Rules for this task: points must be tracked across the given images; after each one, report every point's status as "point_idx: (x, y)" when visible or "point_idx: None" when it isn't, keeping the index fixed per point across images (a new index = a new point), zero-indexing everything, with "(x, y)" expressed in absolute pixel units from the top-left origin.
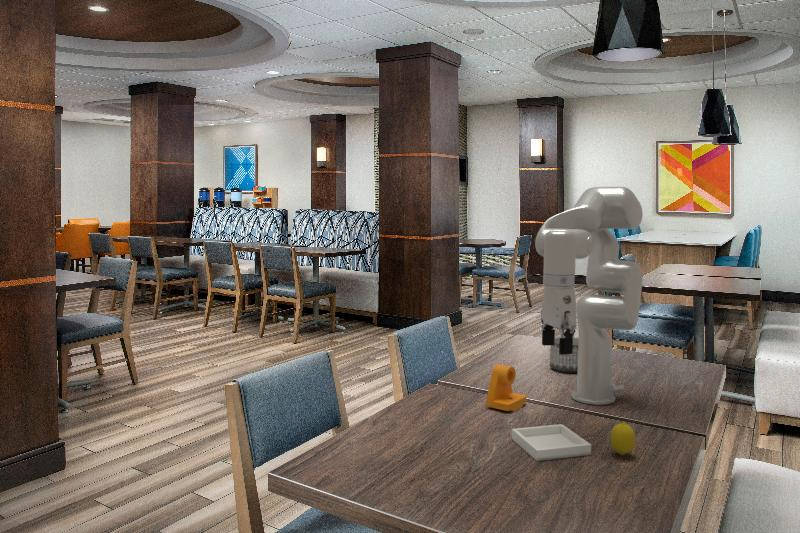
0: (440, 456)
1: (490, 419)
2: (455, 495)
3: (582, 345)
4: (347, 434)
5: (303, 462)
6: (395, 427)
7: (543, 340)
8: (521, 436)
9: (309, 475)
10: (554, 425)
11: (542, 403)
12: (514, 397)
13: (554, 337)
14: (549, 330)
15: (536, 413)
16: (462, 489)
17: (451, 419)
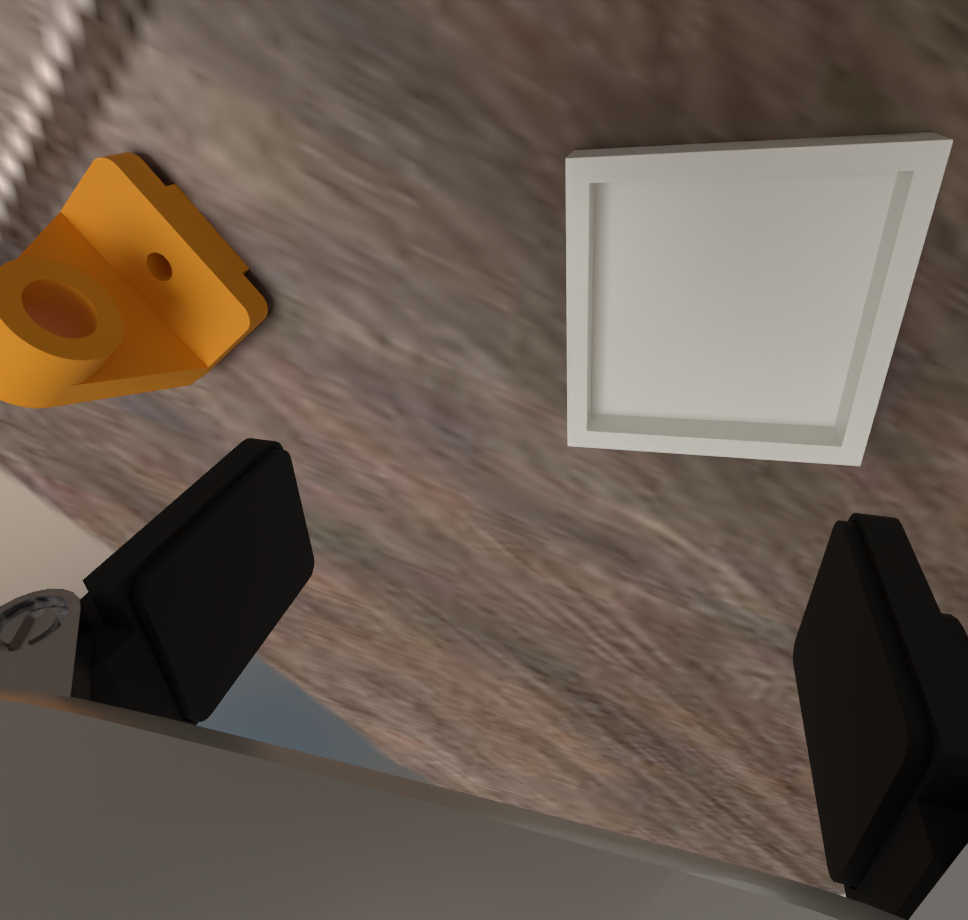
0: (657, 680)
1: (345, 406)
2: None
3: None
4: (436, 778)
5: None
6: (399, 684)
7: (278, 610)
8: (668, 448)
9: None
10: (576, 217)
11: (105, 33)
12: (139, 238)
13: (222, 506)
14: (164, 661)
15: (268, 152)
16: None
17: (339, 531)
